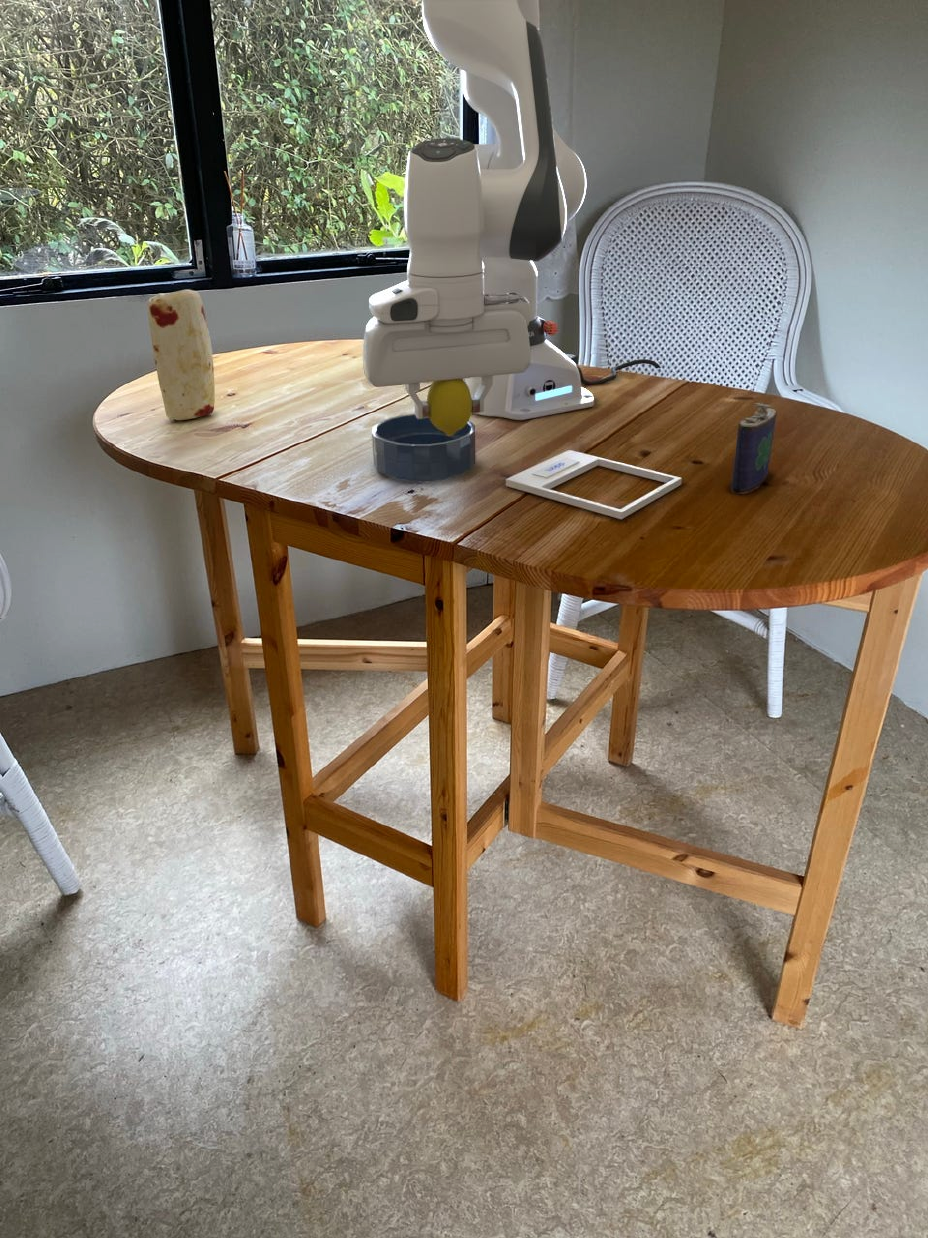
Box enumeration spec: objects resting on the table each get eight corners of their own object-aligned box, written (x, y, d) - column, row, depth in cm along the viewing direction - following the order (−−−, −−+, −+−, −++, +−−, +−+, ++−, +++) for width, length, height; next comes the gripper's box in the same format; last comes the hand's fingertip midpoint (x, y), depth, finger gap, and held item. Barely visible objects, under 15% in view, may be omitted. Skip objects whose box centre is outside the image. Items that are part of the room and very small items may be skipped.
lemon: (467, 444, 112) (466, 378, 108) (423, 442, 113) (420, 376, 109) (476, 430, 116) (475, 366, 112) (433, 428, 117) (431, 365, 113)
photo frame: (569, 448, 131) (681, 476, 121) (569, 455, 132) (681, 484, 121) (505, 477, 122) (621, 510, 111) (505, 485, 122) (621, 519, 112)
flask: (752, 470, 126) (764, 392, 120) (773, 474, 124) (786, 396, 119) (726, 491, 119) (737, 410, 114) (748, 496, 118) (760, 414, 113)
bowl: (458, 444, 137) (457, 408, 135) (489, 477, 125) (488, 438, 123) (365, 456, 134) (362, 419, 131) (387, 490, 122) (385, 450, 119)
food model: (178, 427, 147) (155, 297, 137) (156, 419, 151) (132, 292, 141) (229, 413, 153) (211, 287, 143) (206, 406, 157) (187, 283, 147)
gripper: (520, 286, 112) (519, 399, 118) (355, 299, 106) (363, 415, 113) (540, 295, 106) (537, 412, 113) (366, 309, 101) (374, 431, 108)
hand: (449, 414), depth 113 cm, fingers closed on lemon, 5 cm apart
